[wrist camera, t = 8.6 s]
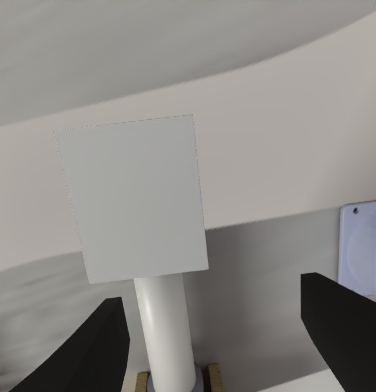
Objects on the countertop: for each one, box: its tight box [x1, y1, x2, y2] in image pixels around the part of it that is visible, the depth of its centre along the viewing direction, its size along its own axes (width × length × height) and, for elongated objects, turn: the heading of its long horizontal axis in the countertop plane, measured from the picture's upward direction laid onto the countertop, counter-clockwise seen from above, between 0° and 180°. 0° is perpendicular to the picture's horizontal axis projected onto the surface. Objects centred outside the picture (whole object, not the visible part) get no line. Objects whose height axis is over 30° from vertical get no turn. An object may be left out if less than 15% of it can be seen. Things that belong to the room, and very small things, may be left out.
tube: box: [134, 273, 204, 392], centre depth 19 cm, size 18×4×4 cm, turn 6°
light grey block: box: [54, 115, 209, 284], centre depth 16 cm, size 8×6×6 cm
